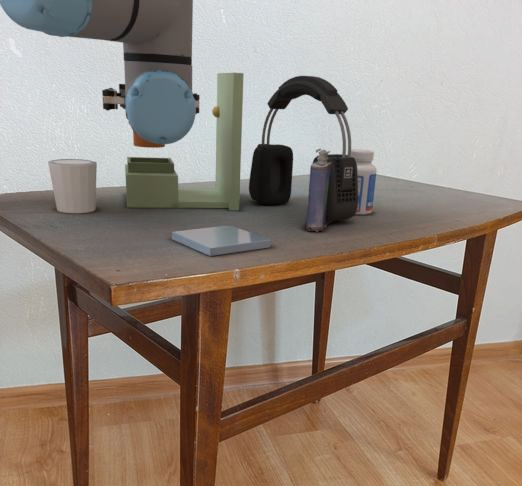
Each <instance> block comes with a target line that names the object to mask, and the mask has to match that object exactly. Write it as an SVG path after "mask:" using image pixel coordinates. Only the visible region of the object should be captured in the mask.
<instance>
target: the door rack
mask: <svg viewBox="0 0 522 486" xmlns="http://www.w3.org/2000/svg"><path fill="white" fill-rule="evenodd" d="M244 74H245V73H243V72H218V73H217V74H216V106H214V107H213V108H212V110H211V111H212V116H213V117H215V118H216V120H215V121H216V122H215V123H216V129H215V139H216V140H215V188H213V189H212V188H211V189H209V188H208V189H205V188H204V189H203V188H200V189H199V188H179V175H178V172H176V170H175V163H174V161H173V160H172V158H171V157H147V156H146V157H143V156H127V157H126V160H127V161H126V162H127V164H124V174H125V175H124V176H125V192H126V193H125V195H126V198H125V199H126V208H146V209H149V208H151V209H155V208H156V209H158V208H159V209H162V208H163V209H165V208H166V209H228V211H233V212H234V211H235V212H236V211H237V212H238V211H240V196H241V194H240V193H241V169H242V168H241V166H242V165H241V164H242V163H241V162H242V138H243V137H242V135H243V134H242V133H243V104H244V103H243V102H244V101H243V100H244V76H245V75H244Z"/></svg>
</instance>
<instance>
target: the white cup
mask: <svg viewBox="0 0 522 486" xmlns="http://www.w3.org/2000/svg"><path fill="white" fill-rule="evenodd" d="M47 163H48V169H49V174H50V180H51V184H52V190H53V195H54V201H55V206H56V211H57V212H59V213H64V214H84V213H85V214H87V213H91V212H94V211H96V209H97V208H96V205H97V204H96V203H97V173H98V172H97V171H98V170H97V169H98V168H97V166H98V163H97V161H95V160H89V159H83V158H59V159H58V158H57V159H51V160H48V161H47Z"/></svg>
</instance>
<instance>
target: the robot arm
mask: <svg viewBox="0 0 522 486" xmlns="http://www.w3.org/2000/svg"><path fill="white" fill-rule="evenodd" d="M0 7H1V8H2V10H3V12H4V14H6V15H7V17H8V18H9V19H10V20H11V21H12V22H14V23H15V24H16V25H18V26H19V27H21V28H24V29H26V30H31V31H35V32H41V33H44V34H46V35H49V36H52V37H59V38H67V37H69V38H77V39H88V40H97V41H99V40H100V41H107V42H116V43H122V50H123V51H122V52H123V66H124V83H119V84H118V90H116V89H115V88H113V87H109V88H104V89H102V90H101V93H102V94H101V95H102V110H105V111H111V110H119V108H122V109H123V110H124V111H125V118H126V120H127V121H128V124H129V126H130V128H131V130H132V132H133V131H134V132H135V133H136V134H138V135H139V137H141V138H143V139H144V140H146V141H148V142H150V143H155V144H161V145H165V146H166V145H170V144H174V143H177V142H179V141H181V140H182V139H183V138H185V136H187V135H188V134H189V132H190V131H191V129H192V127H193V125H194V123H195V119H196V115H198V114H200V94H198V93H194V92H193V60H192V59H193V16H194V14H193V13H194V11H193V10H194V0H0Z"/></svg>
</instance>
